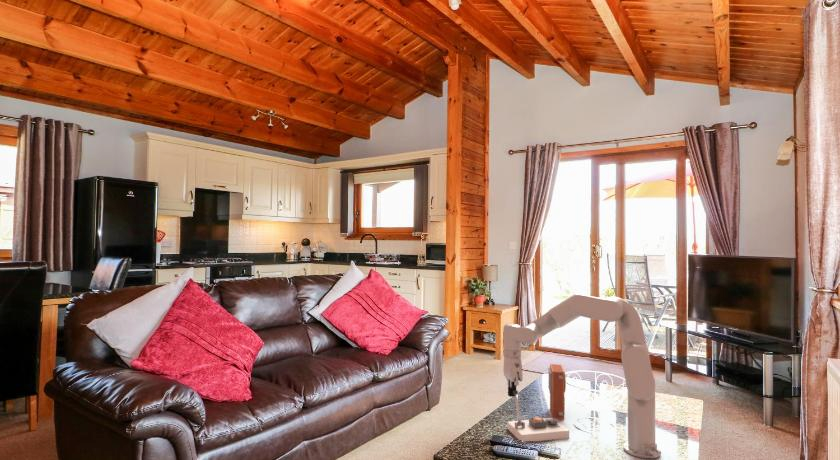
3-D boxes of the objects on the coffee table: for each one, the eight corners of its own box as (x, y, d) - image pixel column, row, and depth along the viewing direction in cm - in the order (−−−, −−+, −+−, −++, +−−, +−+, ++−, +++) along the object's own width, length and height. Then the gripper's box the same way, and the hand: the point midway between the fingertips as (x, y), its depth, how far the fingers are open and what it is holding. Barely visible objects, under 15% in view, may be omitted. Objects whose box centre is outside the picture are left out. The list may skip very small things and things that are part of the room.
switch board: (569, 437, 189) (569, 424, 190) (521, 442, 185) (521, 428, 185) (552, 424, 203) (552, 411, 203) (507, 428, 198) (507, 415, 198)
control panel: (562, 408, 222) (566, 420, 208) (547, 407, 224) (550, 419, 209) (562, 364, 223) (566, 372, 208) (547, 363, 224) (550, 371, 210)
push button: (543, 424, 193) (543, 420, 193) (535, 425, 192) (535, 420, 192) (539, 421, 196) (539, 416, 196) (531, 422, 195) (531, 417, 195)
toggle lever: (523, 425, 191) (518, 389, 196) (518, 426, 191) (513, 389, 196) (521, 425, 193) (516, 389, 198) (516, 426, 193) (512, 389, 198)
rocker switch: (557, 423, 194) (557, 420, 194) (550, 423, 193) (550, 420, 193) (552, 420, 198) (552, 418, 198) (545, 421, 197) (545, 418, 197)
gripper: (528, 356, 194) (528, 401, 193) (513, 348, 208) (513, 389, 208) (511, 357, 192) (511, 402, 192) (497, 349, 207) (497, 391, 206)
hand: (512, 395), depth 200 cm, fingers closed
